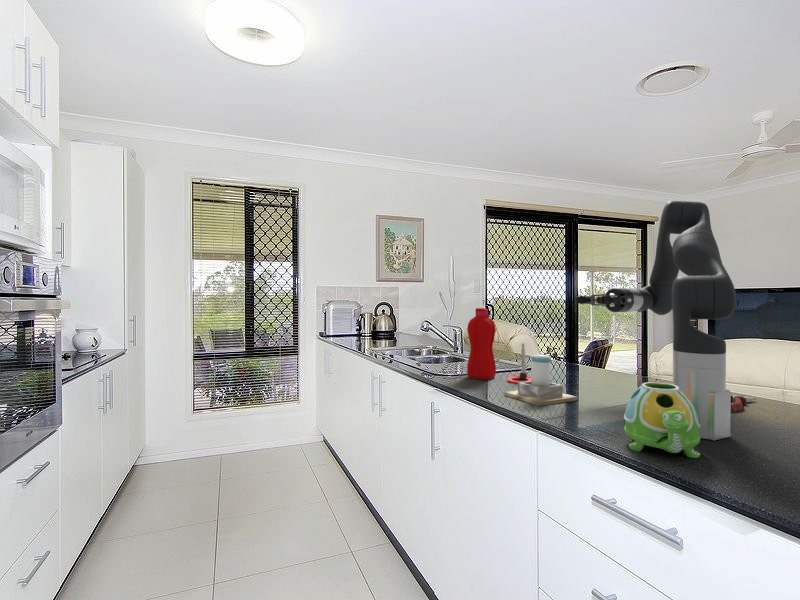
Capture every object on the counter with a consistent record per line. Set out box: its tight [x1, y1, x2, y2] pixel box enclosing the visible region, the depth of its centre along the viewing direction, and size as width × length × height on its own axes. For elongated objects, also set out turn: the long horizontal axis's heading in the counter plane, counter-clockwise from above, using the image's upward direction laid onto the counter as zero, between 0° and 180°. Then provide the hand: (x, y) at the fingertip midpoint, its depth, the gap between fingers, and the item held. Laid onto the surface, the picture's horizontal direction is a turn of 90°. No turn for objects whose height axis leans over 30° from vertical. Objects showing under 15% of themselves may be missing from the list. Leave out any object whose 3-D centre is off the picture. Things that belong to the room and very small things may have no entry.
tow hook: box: [506, 342, 531, 385], centre depth 147 cm, size 8×13×9 cm
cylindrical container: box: [530, 354, 552, 387], centre depth 123 cm, size 5×5×11 cm
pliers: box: [731, 394, 757, 413], centre depth 117 cm, size 12×20×3 cm, turn 115°
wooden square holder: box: [503, 380, 578, 407], centre depth 123 cm, size 14×14×4 cm
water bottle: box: [466, 307, 500, 381], centre depth 154 cm, size 9×11×25 cm
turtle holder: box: [623, 381, 701, 459], centre depth 80 cm, size 12×18×12 cm
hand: (588, 300), depth 127 cm, fingers open, 8 cm apart
